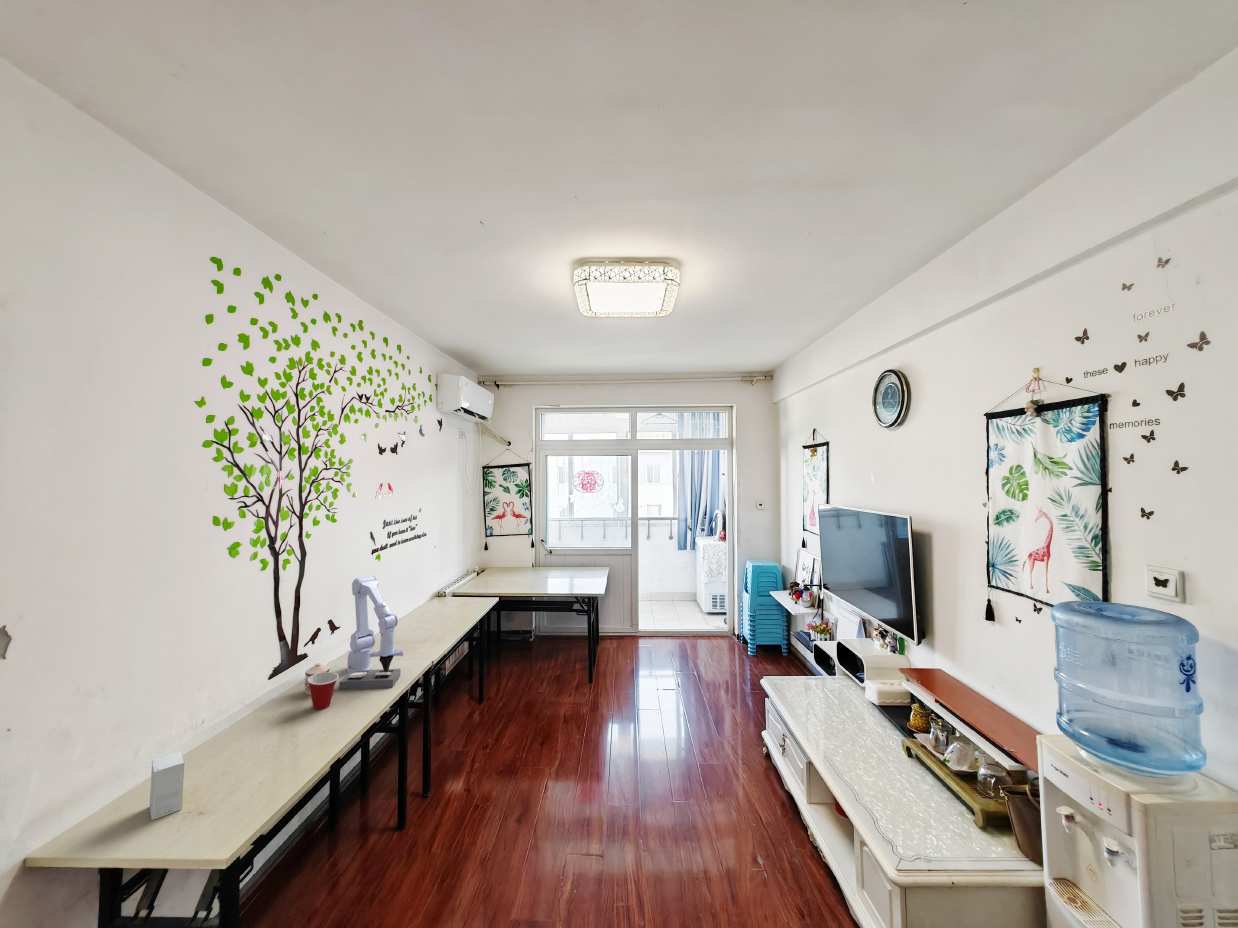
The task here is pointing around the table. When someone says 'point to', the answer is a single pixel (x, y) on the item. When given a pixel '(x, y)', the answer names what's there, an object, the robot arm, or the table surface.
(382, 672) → the rocker right
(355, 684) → the grey flat block
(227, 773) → the table surface
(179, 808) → the small box
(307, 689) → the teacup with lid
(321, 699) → the plastic cup
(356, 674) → the rocker left
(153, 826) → the table surface
